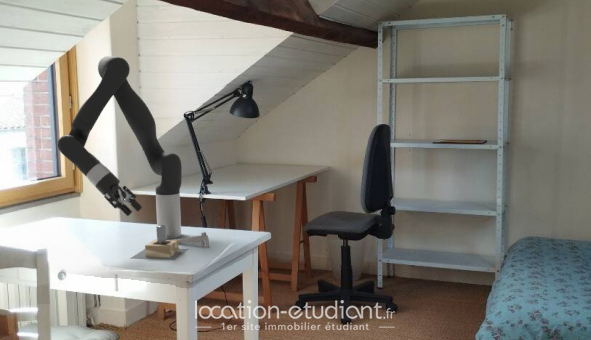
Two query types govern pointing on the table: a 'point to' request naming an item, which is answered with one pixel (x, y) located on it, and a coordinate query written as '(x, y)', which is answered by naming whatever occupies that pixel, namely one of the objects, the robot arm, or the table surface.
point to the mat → (143, 256)
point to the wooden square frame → (161, 249)
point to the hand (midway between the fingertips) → (135, 211)
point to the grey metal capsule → (161, 235)
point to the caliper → (197, 240)
